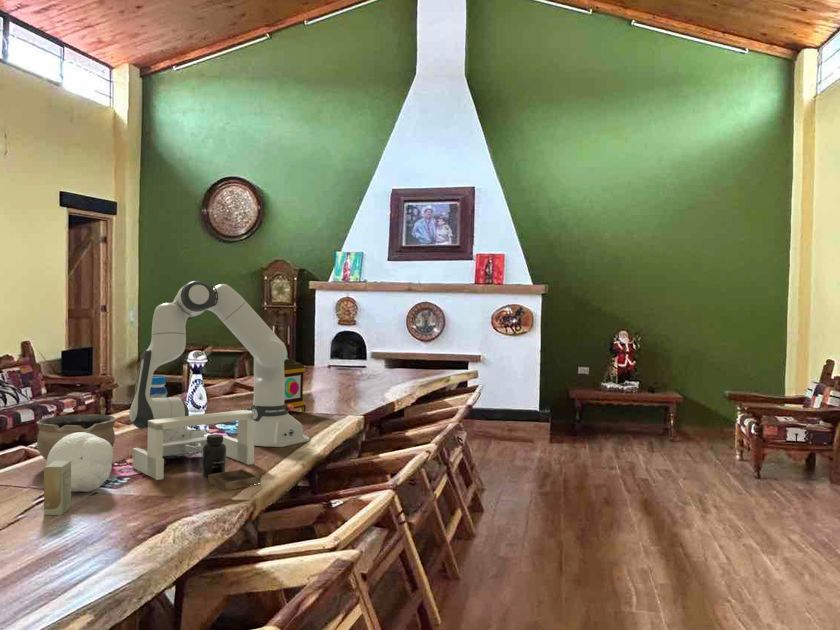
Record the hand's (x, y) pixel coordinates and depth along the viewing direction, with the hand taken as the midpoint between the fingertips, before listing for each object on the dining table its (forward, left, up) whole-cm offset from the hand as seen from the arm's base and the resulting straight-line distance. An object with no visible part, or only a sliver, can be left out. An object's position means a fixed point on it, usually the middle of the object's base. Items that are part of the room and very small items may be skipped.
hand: (198, 449), depth 227 cm
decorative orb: (+36, +5, -6) cm, 37 cm away
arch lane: (0, -2, -6) cm, 6 cm away
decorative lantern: (-72, -67, -6) cm, 99 cm away
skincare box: (+47, +20, -6) cm, 52 cm away
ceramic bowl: (+29, -22, -6) cm, 37 cm away
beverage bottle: (-16, -68, -6) cm, 70 cm away
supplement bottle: (+1, +12, -6) cm, 13 cm away
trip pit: (0, +23, -6) cm, 24 cm away
